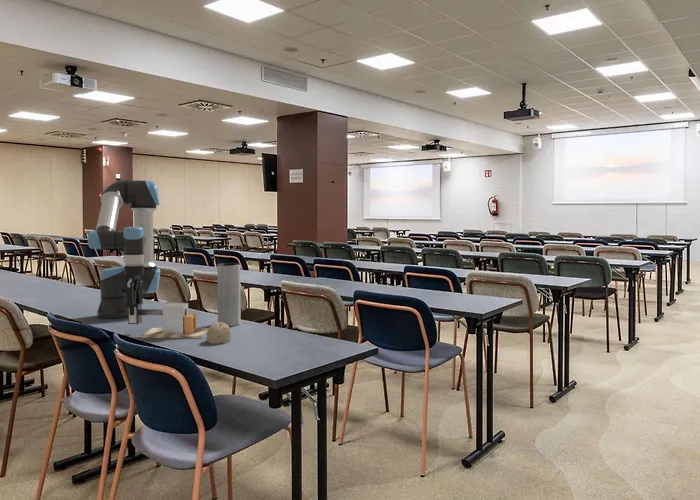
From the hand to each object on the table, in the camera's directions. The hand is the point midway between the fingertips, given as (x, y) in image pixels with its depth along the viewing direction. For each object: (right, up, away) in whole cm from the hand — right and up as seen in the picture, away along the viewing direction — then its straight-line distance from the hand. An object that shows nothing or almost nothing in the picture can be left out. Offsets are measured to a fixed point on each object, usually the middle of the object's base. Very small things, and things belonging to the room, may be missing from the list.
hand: (135, 321), depth 224 cm
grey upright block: (+17, -5, +1) cm, 17 cm away
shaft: (+9, -1, 0) cm, 9 cm away
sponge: (+37, -7, -10) cm, 39 cm away
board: (+17, -5, +1) cm, 17 cm away
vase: (+34, -4, +21) cm, 40 cm away
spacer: (+22, -1, +1) cm, 22 cm away
